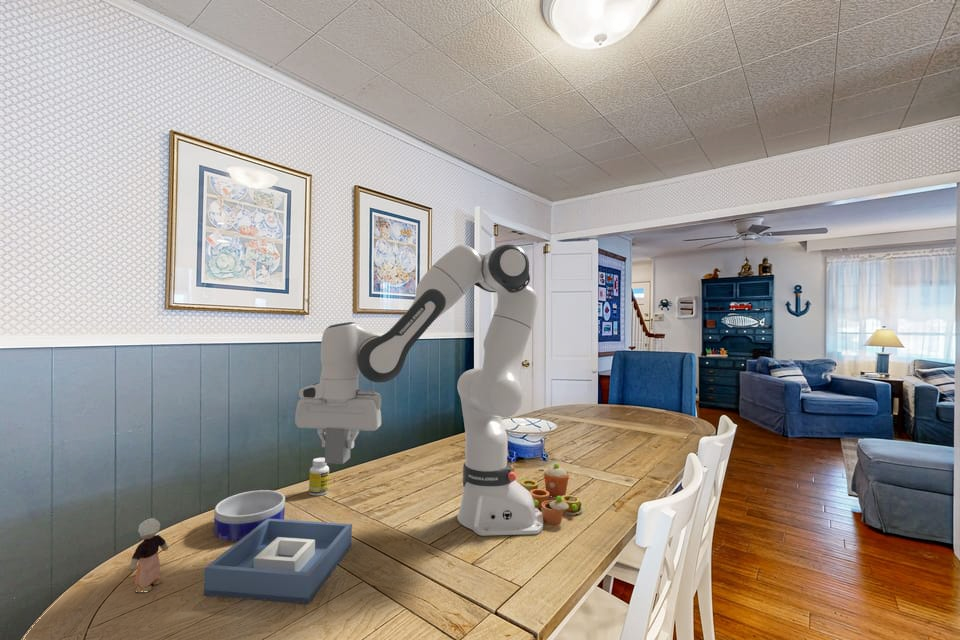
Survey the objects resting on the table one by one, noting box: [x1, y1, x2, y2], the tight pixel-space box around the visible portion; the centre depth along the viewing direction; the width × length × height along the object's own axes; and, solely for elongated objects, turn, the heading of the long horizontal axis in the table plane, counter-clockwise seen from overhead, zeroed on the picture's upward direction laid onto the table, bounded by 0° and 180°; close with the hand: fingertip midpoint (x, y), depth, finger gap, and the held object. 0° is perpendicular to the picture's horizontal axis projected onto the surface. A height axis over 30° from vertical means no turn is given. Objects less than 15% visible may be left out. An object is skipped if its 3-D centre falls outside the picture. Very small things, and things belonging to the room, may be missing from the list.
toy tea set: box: [520, 463, 583, 526], centre depth 122 cm, size 26×16×10 cm, turn 12°
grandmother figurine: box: [128, 517, 169, 592], centre depth 80 cm, size 8×4×13 cm, turn 5°
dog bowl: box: [213, 489, 286, 542], centre depth 104 cm, size 15×15×6 cm
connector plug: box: [324, 428, 352, 465], centre depth 102 cm, size 4×4×9 cm
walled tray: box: [203, 519, 353, 605], centre depth 87 cm, size 20×20×5 cm
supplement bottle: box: [308, 457, 330, 497], centre depth 126 cm, size 5×5×10 cm
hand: (338, 447), depth 102 cm, fingers closed on connector plug, 4 cm apart
